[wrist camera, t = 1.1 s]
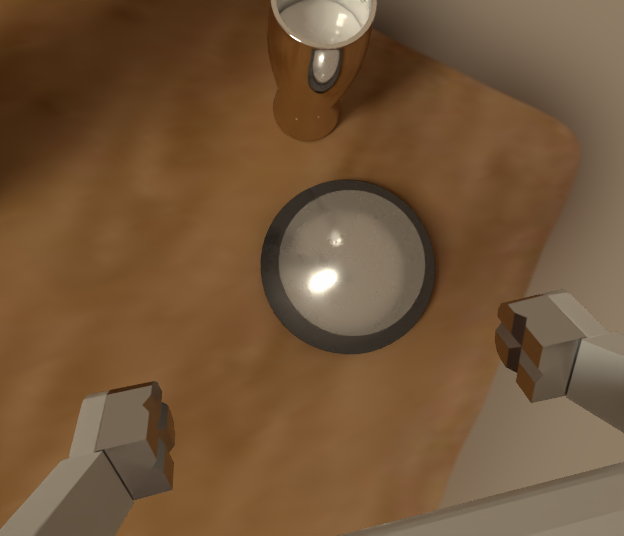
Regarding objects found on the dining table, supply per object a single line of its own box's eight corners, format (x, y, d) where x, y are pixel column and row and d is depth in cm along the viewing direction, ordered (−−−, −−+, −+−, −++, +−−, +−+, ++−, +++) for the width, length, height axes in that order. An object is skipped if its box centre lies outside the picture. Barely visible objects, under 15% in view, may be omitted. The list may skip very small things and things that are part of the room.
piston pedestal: (224, 259, 43) (221, 253, 40) (351, 150, 45) (357, 137, 42) (342, 391, 42) (348, 395, 39) (465, 273, 44) (479, 269, 41)
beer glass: (256, 87, 45) (250, -36, 30) (328, 64, 46) (355, -67, 31) (284, 156, 44) (291, 66, 29) (356, 132, 45) (397, 31, 30)
